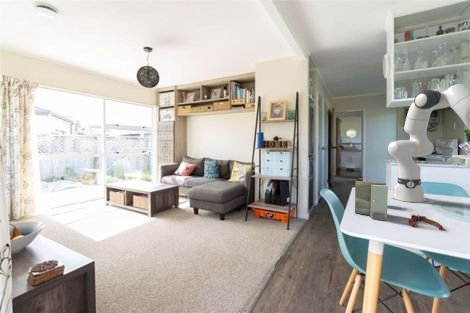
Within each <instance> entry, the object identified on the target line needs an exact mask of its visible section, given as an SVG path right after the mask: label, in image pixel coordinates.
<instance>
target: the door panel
mask: <svg viewBox="0 0 470 313" xmlns="http://www.w3.org/2000/svg"><path fill="white" fill-rule="evenodd" d="M388 188H389V187H388V185H386V186H384V185H371V214H370V215H369V216H370V217H369V218H370V219H372V213H379V214H384V221H388V200H389V199H388V196H389V195H388V192H389V189H388Z"/></svg>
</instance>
